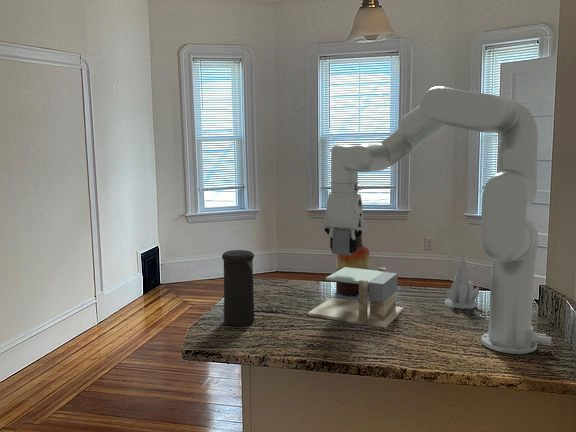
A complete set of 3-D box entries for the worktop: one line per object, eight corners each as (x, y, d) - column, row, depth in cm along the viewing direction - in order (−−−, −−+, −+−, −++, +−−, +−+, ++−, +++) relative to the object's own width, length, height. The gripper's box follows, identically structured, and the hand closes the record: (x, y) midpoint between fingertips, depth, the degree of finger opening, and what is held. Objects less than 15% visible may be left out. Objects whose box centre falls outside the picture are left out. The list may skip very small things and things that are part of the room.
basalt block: (354, 252, 161) (355, 228, 160) (348, 255, 157) (348, 231, 156) (339, 250, 163) (339, 227, 162) (332, 254, 159) (332, 230, 158)
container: (261, 321, 154) (260, 250, 151) (237, 329, 147) (235, 255, 144) (240, 314, 159) (239, 246, 157) (216, 322, 153) (214, 251, 150)
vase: (371, 296, 177) (372, 233, 174) (337, 296, 177) (337, 233, 174) (366, 287, 187) (367, 228, 184) (334, 287, 187) (335, 228, 185)
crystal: (474, 297, 175) (475, 251, 172) (481, 310, 162) (483, 260, 160) (441, 296, 176) (443, 250, 174) (446, 309, 163) (448, 259, 161)
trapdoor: (397, 289, 161) (398, 272, 160) (382, 302, 149) (382, 284, 148) (344, 283, 169) (344, 267, 168) (325, 294, 156) (325, 277, 156)
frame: (404, 309, 163) (404, 269, 161) (385, 328, 147) (385, 284, 146) (332, 299, 173) (332, 262, 172) (307, 315, 158) (307, 274, 156)
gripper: (377, 188, 157) (376, 252, 159) (322, 186, 164) (322, 246, 167) (368, 191, 150) (367, 257, 153) (311, 188, 158) (311, 251, 161)
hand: (343, 250), depth 160 cm, fingers closed on basalt block, 5 cm apart
